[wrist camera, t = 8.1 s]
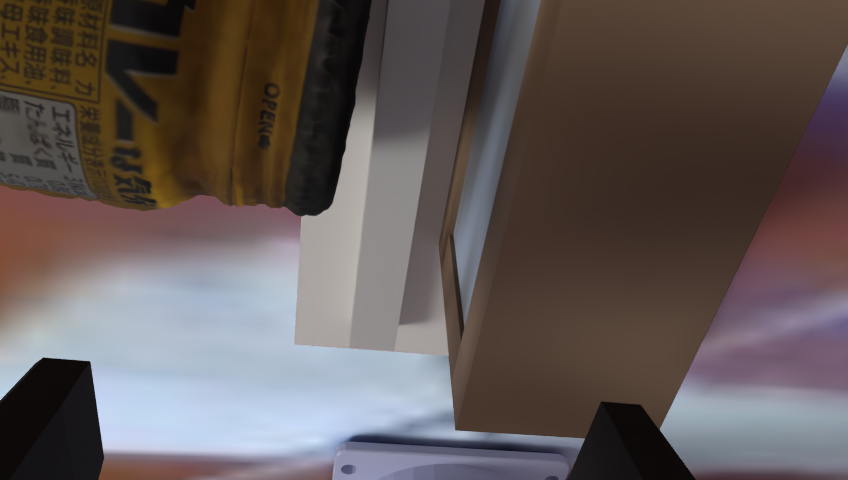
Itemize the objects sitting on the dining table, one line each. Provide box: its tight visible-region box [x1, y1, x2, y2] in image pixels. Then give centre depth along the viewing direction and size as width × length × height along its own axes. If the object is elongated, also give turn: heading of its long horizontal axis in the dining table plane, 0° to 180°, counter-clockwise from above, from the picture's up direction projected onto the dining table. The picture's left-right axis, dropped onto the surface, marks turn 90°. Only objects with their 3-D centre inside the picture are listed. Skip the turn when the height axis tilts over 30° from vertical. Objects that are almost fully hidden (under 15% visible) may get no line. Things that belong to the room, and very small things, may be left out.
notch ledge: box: [294, 0, 485, 356], centre depth 16 cm, size 20×11×2 cm, turn 172°
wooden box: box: [439, 0, 848, 438], centre depth 14 cm, size 12×4×6 cm, turn 172°
